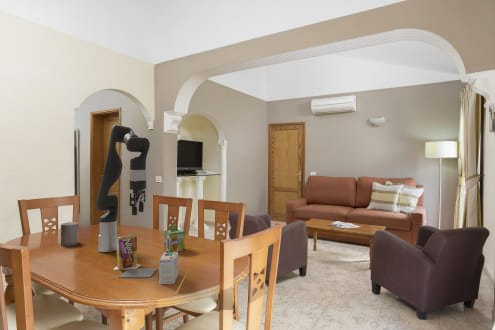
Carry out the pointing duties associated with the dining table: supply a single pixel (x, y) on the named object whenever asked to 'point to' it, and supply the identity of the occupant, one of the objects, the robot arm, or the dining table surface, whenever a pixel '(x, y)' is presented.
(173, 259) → the light bulb box
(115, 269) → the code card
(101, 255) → the dining table surface
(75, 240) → the pillar candle
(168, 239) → the chalk box
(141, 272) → the slate coaster
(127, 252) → the candy box
